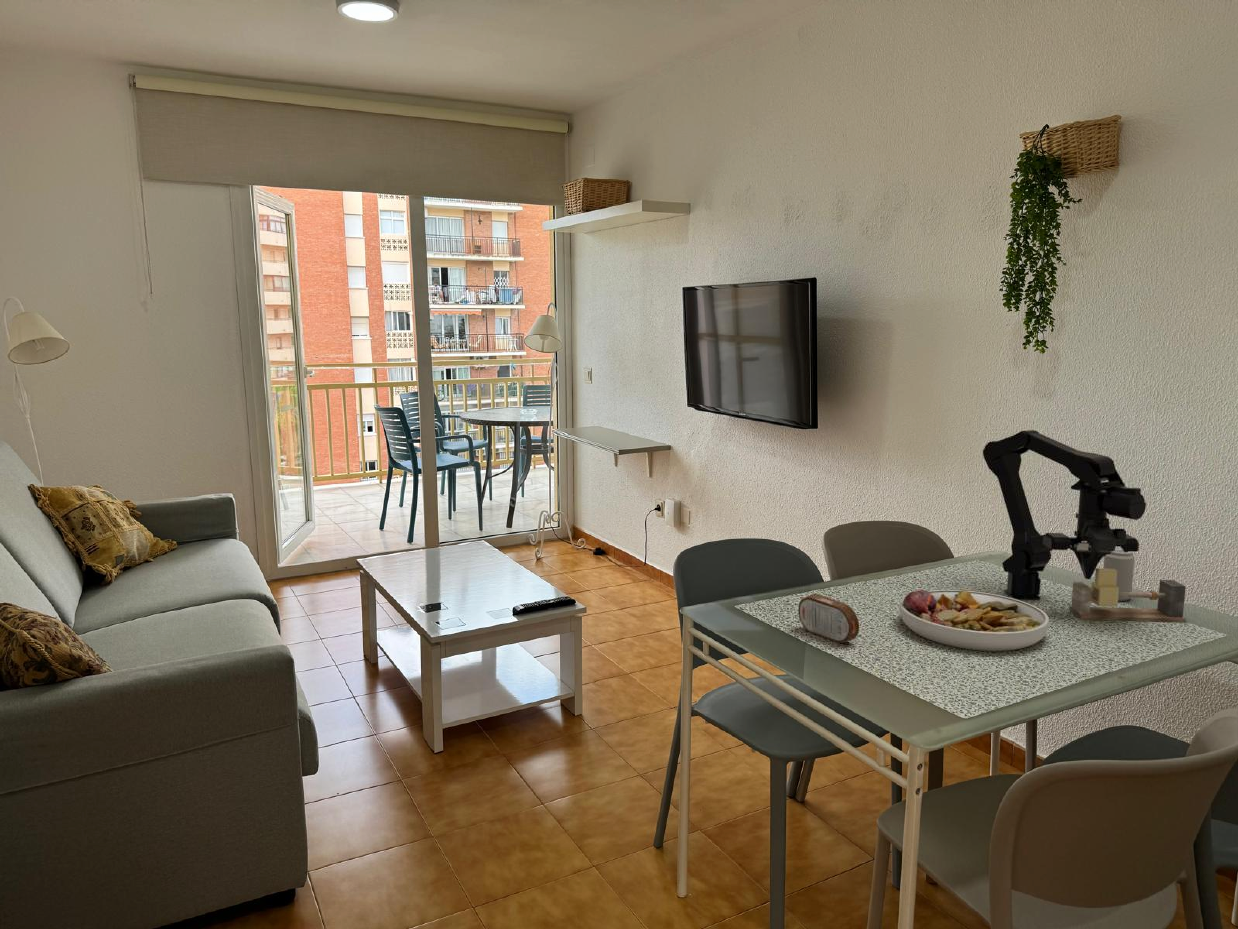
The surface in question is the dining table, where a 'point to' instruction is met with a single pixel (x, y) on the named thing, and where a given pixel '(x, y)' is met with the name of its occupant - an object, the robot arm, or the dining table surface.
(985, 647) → the bowl
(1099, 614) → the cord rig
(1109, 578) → the marker sleeve
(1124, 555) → the beverage can
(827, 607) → the tin
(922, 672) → the dining table surface
